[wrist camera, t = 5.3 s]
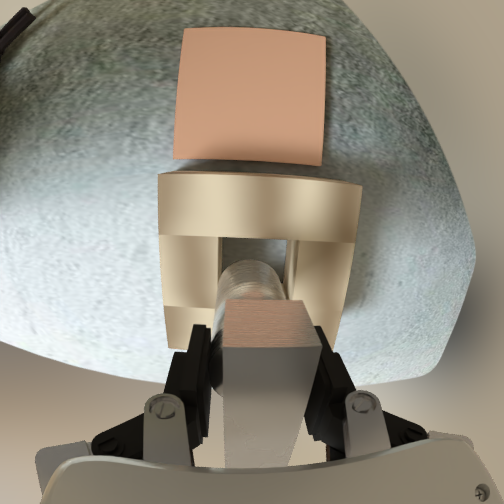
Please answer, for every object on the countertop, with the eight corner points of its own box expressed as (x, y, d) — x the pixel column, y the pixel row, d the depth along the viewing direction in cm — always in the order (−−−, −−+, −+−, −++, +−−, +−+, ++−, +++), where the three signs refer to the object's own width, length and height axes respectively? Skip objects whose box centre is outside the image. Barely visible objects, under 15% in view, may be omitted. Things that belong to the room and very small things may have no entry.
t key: (218, 234, 17) (195, 345, 7) (285, 236, 17) (346, 344, 7) (217, 332, 19) (208, 467, 9) (275, 333, 19) (302, 465, 9)
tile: (175, 159, 22) (173, 159, 21) (186, 32, 18) (184, 28, 17) (318, 165, 23) (321, 166, 22) (323, 40, 19) (325, 36, 18)
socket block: (179, 317, 27) (168, 348, 22) (175, 170, 22) (157, 174, 18) (319, 321, 27) (332, 351, 23) (339, 179, 23) (362, 185, 18)
